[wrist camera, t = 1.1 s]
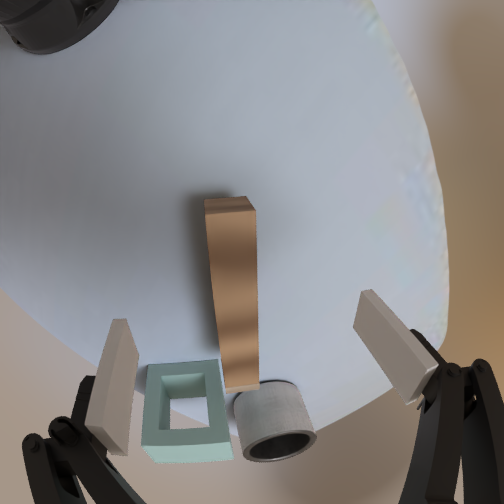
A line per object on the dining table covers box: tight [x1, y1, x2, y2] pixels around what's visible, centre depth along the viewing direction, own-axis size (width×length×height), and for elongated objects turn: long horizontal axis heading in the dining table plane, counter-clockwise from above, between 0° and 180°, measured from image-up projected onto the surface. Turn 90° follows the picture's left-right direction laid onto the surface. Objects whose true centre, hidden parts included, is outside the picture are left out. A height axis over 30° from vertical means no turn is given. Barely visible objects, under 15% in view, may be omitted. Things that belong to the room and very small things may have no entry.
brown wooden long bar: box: [204, 196, 260, 394], centre depth 29 cm, size 22×4×5 cm, turn 1°
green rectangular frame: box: [141, 359, 234, 463], centre depth 34 cm, size 6×11×14 cm, turn 91°
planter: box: [234, 381, 317, 462], centre depth 42 cm, size 13×13×11 cm
